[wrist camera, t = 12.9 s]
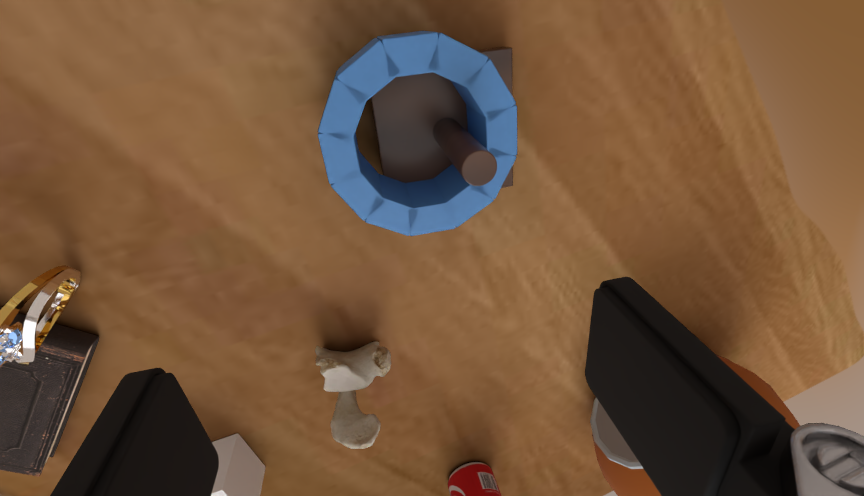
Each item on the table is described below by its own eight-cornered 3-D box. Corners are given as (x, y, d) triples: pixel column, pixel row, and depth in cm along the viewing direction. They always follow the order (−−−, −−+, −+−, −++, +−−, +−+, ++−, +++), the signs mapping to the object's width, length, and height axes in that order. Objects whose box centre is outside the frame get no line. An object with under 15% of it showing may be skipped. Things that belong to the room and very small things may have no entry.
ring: (65, 240, 31) (-18, 303, 24) (112, 261, 32) (47, 326, 25) (33, 307, 33) (-53, 383, 26) (78, 324, 34) (9, 400, 27)
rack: (365, 63, 29) (371, 82, 20) (505, 46, 30) (573, 56, 21) (386, 198, 34) (400, 263, 25) (507, 180, 35) (562, 235, 26)
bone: (334, 310, 36) (387, 416, 31) (385, 313, 41) (437, 404, 36) (282, 370, 39) (322, 477, 34) (335, 366, 44) (377, 458, 39)
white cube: (181, 452, 43) (157, 511, 37) (237, 432, 43) (222, 489, 37) (213, 484, 46) (195, 544, 40) (265, 466, 46) (254, 523, 40)
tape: (306, 45, 26) (297, 49, 22) (490, 22, 28) (516, 22, 23) (345, 217, 32) (344, 247, 28) (496, 192, 33) (517, 218, 29)
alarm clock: (619, 459, 56) (717, 617, 41) (543, 406, 49) (630, 578, 34) (742, 371, 52) (902, 512, 37) (680, 298, 44) (850, 439, 29)
